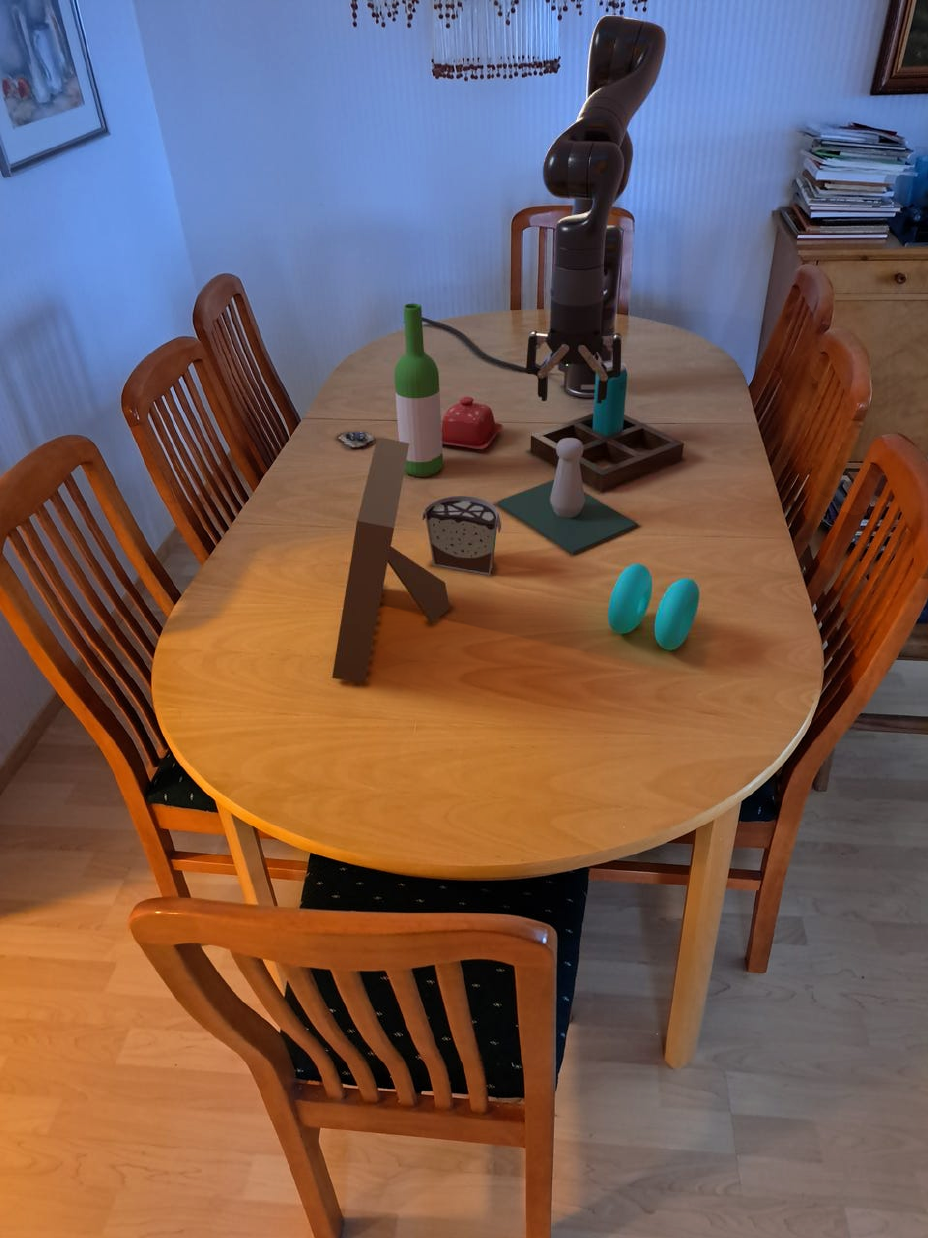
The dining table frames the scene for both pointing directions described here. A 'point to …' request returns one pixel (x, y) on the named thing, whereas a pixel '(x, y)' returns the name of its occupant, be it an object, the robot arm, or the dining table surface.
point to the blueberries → (356, 438)
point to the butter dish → (469, 425)
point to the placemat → (567, 519)
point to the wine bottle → (418, 400)
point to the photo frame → (380, 564)
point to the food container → (462, 533)
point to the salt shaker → (568, 479)
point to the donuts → (634, 601)
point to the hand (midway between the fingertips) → (571, 400)
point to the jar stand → (610, 450)
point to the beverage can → (611, 404)
